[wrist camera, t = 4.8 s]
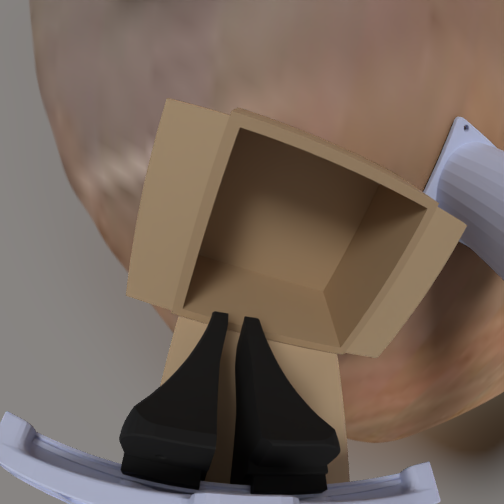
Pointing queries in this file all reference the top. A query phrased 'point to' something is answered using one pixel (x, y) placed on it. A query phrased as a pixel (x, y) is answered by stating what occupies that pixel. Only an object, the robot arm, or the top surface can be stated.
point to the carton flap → (297, 372)
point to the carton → (282, 233)
